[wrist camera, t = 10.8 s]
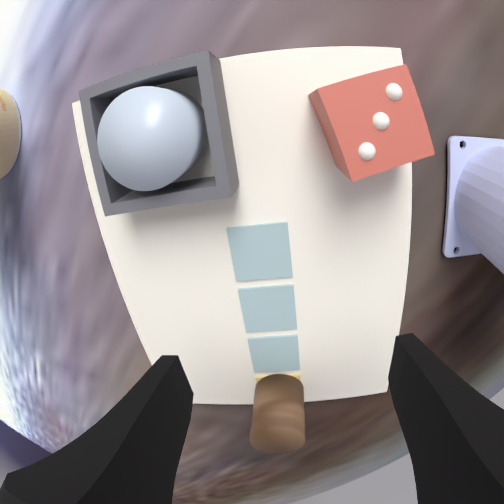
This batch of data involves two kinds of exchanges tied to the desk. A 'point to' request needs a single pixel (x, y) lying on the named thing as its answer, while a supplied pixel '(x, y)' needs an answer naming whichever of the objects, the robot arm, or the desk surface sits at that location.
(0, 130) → the coffee cup
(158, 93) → the dome
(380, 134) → the die
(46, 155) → the desk surface
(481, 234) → the robot arm
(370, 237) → the board
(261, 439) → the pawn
